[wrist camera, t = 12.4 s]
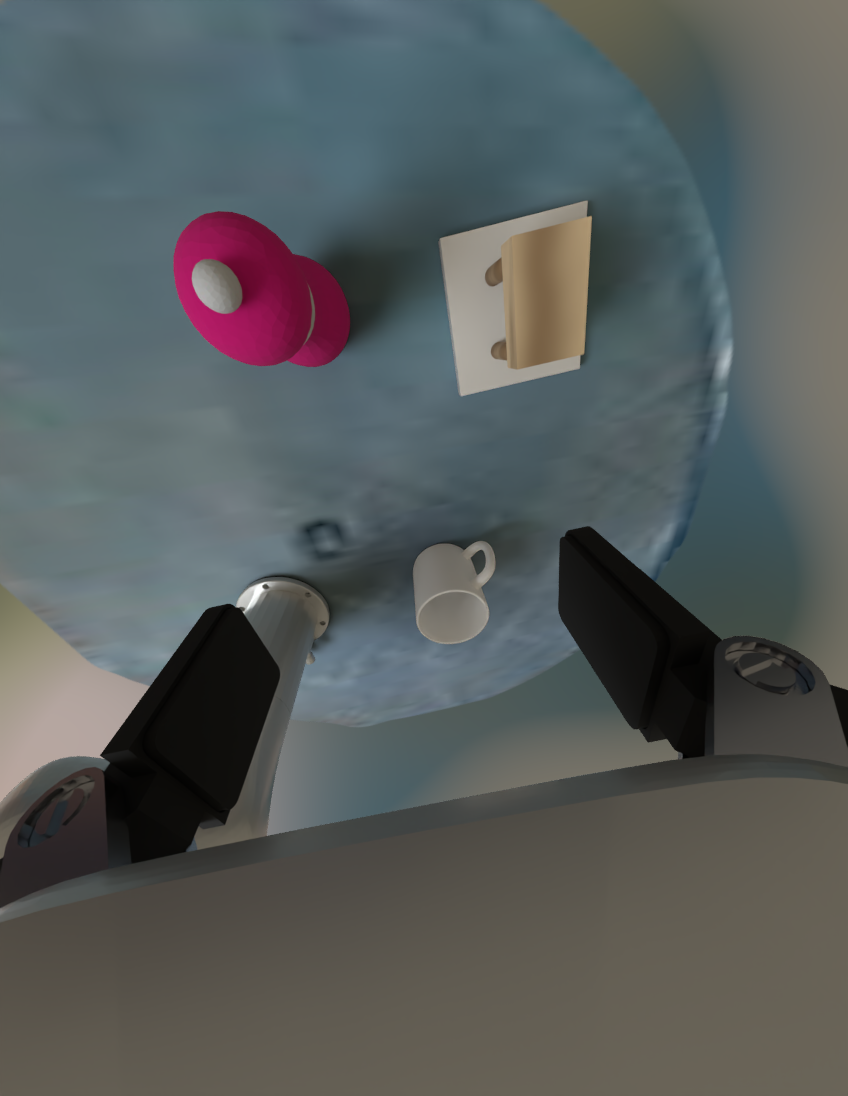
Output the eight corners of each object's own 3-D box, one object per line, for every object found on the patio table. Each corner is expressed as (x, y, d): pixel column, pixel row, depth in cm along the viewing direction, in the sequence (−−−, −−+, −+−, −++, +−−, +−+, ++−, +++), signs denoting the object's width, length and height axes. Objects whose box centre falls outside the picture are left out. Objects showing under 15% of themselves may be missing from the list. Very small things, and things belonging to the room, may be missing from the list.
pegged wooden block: (540, 249, 27) (591, 215, 20) (541, 352, 31) (584, 354, 24) (481, 264, 28) (511, 235, 20) (489, 364, 32) (517, 369, 24)
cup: (400, 571, 45) (401, 625, 37) (458, 509, 41) (475, 553, 32) (444, 598, 49) (455, 653, 40) (503, 543, 44) (529, 591, 35)
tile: (574, 367, 33) (579, 368, 32) (458, 394, 34) (460, 396, 33) (580, 205, 27) (587, 200, 26) (438, 242, 28) (439, 238, 27)
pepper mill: (353, 271, 28) (289, 161, 11) (356, 367, 32) (312, 392, 15) (266, 262, 27) (57, 130, 11) (280, 361, 31) (142, 380, 14)
